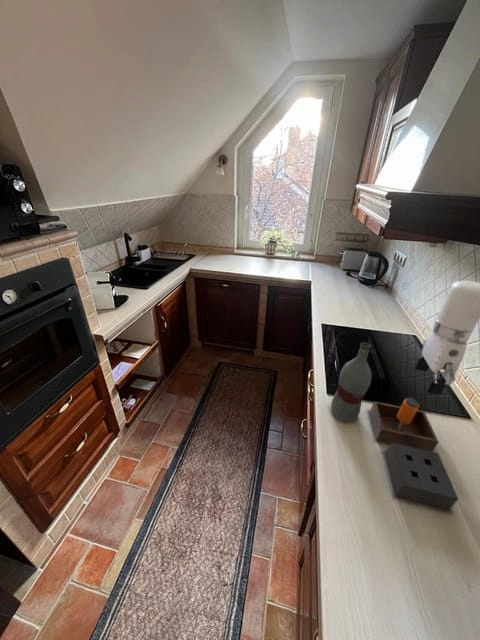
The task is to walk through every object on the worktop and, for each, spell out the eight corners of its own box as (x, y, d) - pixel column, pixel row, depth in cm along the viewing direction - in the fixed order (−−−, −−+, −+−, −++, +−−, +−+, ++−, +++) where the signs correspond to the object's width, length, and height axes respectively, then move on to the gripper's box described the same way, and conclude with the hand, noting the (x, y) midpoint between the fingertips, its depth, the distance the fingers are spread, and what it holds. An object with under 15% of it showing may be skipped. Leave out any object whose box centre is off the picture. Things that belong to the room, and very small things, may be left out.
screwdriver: (402, 426, 85) (417, 398, 78) (406, 436, 82) (421, 408, 75) (389, 423, 86) (403, 395, 79) (392, 433, 82) (407, 405, 76)
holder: (429, 465, 75) (438, 452, 72) (447, 511, 64) (458, 499, 61) (384, 454, 77) (390, 442, 74) (395, 497, 67) (403, 485, 64)
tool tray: (417, 422, 87) (424, 411, 84) (430, 453, 78) (438, 441, 75) (369, 412, 91) (374, 401, 88) (375, 441, 81) (381, 429, 78)
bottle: (329, 420, 88) (350, 350, 72) (329, 400, 95) (348, 333, 80) (358, 427, 85) (386, 356, 70) (356, 406, 93) (380, 339, 78)
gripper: (488, 352, 56) (455, 406, 64) (453, 315, 70) (430, 364, 79) (449, 347, 58) (422, 400, 66) (422, 312, 72) (403, 360, 81)
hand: (426, 380), depth 72 cm, fingers open, 9 cm apart
